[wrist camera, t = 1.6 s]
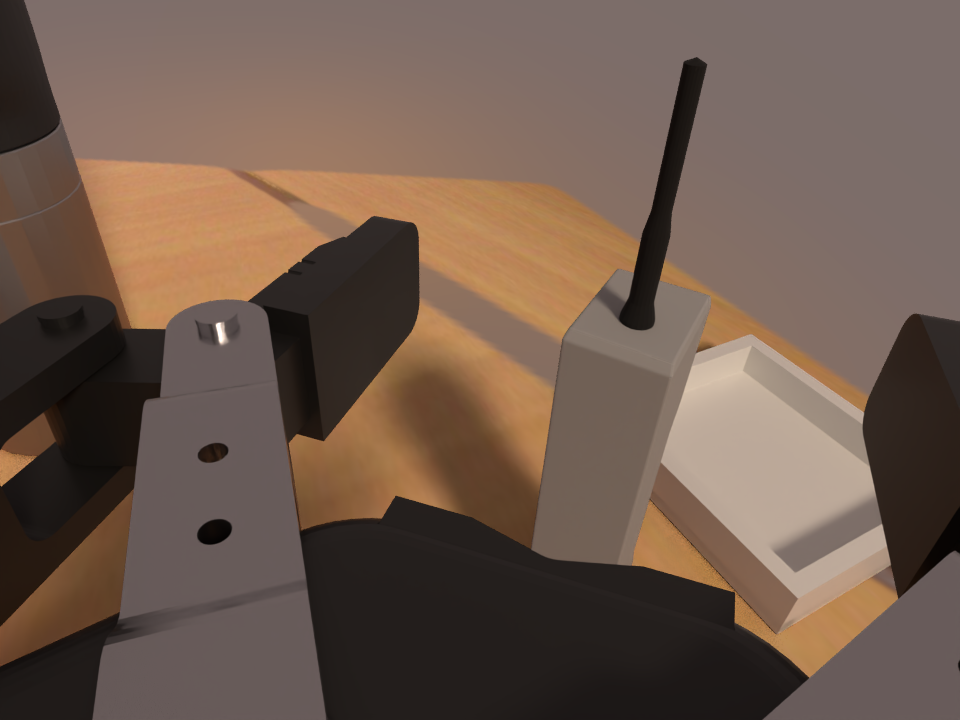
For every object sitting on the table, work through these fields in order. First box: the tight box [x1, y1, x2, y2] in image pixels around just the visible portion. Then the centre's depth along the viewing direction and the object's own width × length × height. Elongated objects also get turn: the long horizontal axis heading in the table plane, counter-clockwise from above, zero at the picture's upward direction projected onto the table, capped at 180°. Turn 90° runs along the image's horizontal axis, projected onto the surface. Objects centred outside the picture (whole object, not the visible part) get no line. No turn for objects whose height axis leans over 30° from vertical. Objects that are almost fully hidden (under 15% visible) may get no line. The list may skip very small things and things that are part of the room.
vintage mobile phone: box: [531, 57, 711, 566], centre depth 25 cm, size 4×5×25 cm
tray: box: [650, 334, 891, 634], centre depth 39 cm, size 14×16×3 cm
